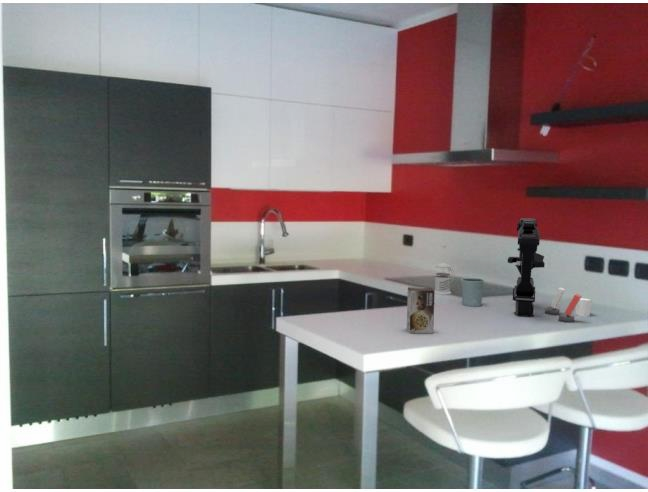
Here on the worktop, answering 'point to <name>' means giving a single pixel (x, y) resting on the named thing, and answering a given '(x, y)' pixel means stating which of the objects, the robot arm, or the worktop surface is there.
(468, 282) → the grey green cup
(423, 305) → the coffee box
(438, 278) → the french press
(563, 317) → the dark rounded piece
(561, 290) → the block
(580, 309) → the shot glass
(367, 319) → the worktop surface
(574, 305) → the block
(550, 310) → the grey switch base
